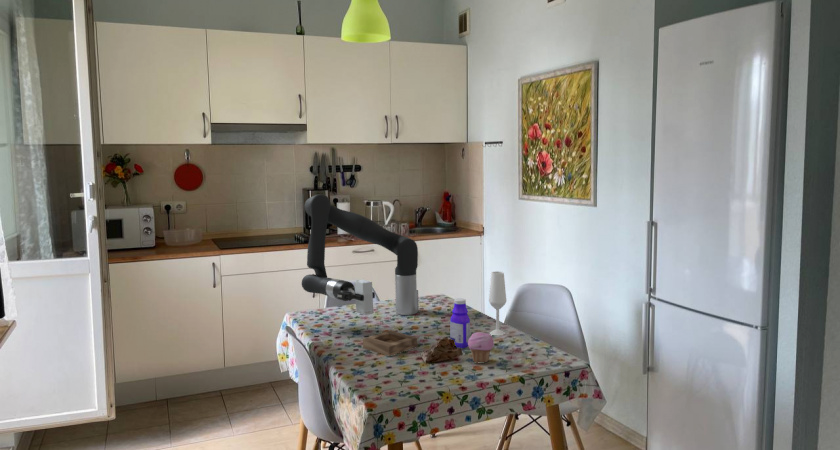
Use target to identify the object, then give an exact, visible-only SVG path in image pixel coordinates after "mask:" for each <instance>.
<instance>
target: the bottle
mask: <svg viewBox="0 0 840 450" xmlns="http://www.w3.org/2000/svg"><path fill="white" fill-rule="evenodd" d="M466 301H467V300H466V299H465V298H463V297H458V298H454V305H453V309H452V311H451V312H452V315H451V317H450V323H449V324H450V327H449V328H450V332H449V333H450V334H449V335H450V336H449V338H450V339H452V340H454V342H455V345H456V347H455V348H459V349H465V348H469V346H468V340H469V338H470V337H471V330H470V329H471V319H470V317H469V315H468V313H469V310H468V308H467V303H466ZM450 339H449V340H450Z"/></svg>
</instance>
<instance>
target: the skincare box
mask: <svg viewBox="0 0 840 450" xmlns="http://www.w3.org/2000/svg"><path fill="white" fill-rule="evenodd" d="M353 283H354V287H355V293H356V294H357V293H358V294H362V295H364V301H360V300H355V312H356V313H357V314H360V315H364V316H368V315H373V314H374V313H375V312H374V298H373V292H374V291H373V281H370V280H366V279H359V280H354V282H353Z"/></svg>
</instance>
